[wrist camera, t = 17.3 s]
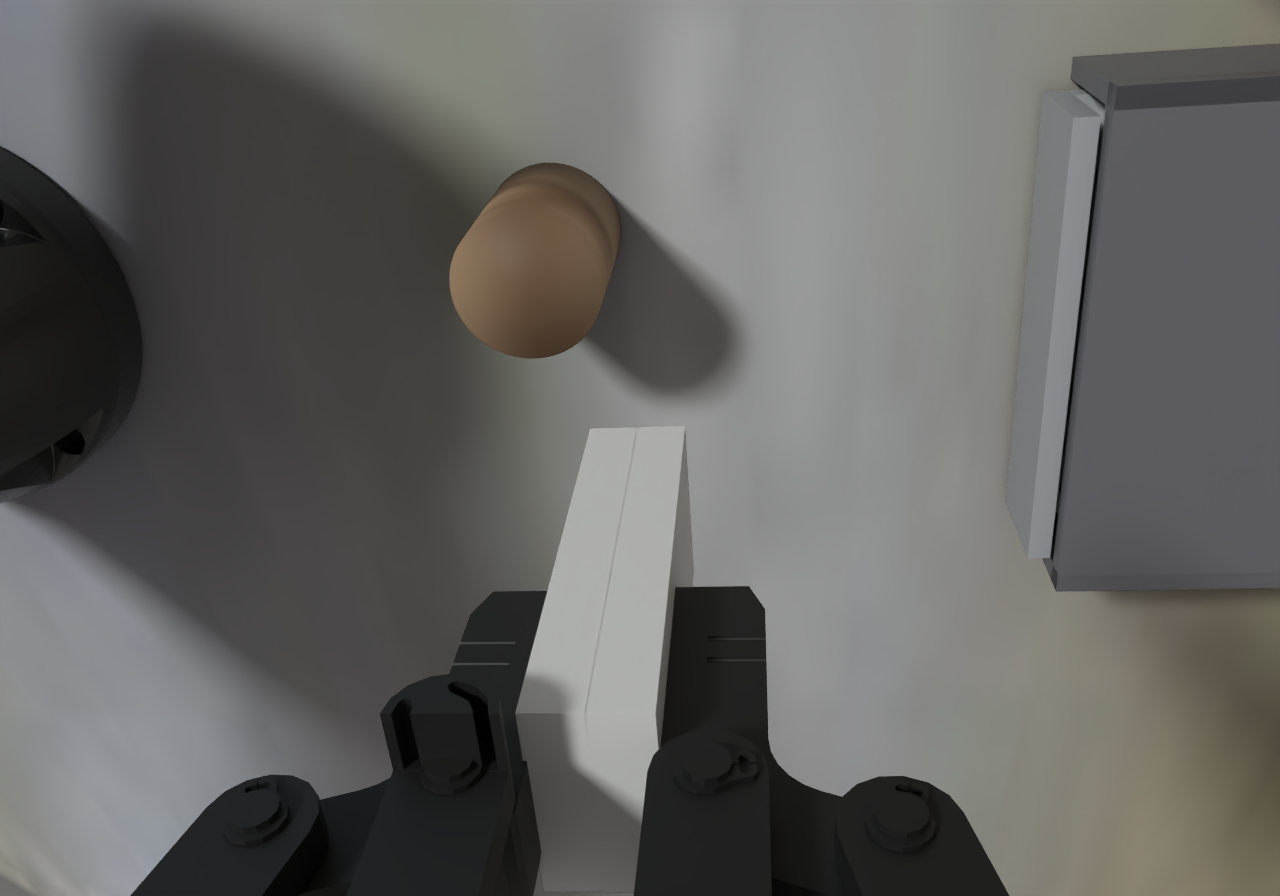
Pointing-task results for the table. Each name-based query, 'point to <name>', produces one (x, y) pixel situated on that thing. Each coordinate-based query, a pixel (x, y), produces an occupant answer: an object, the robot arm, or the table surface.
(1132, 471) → the housing
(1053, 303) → the tray
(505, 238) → the brown rounded cylinder
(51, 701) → the table surface
